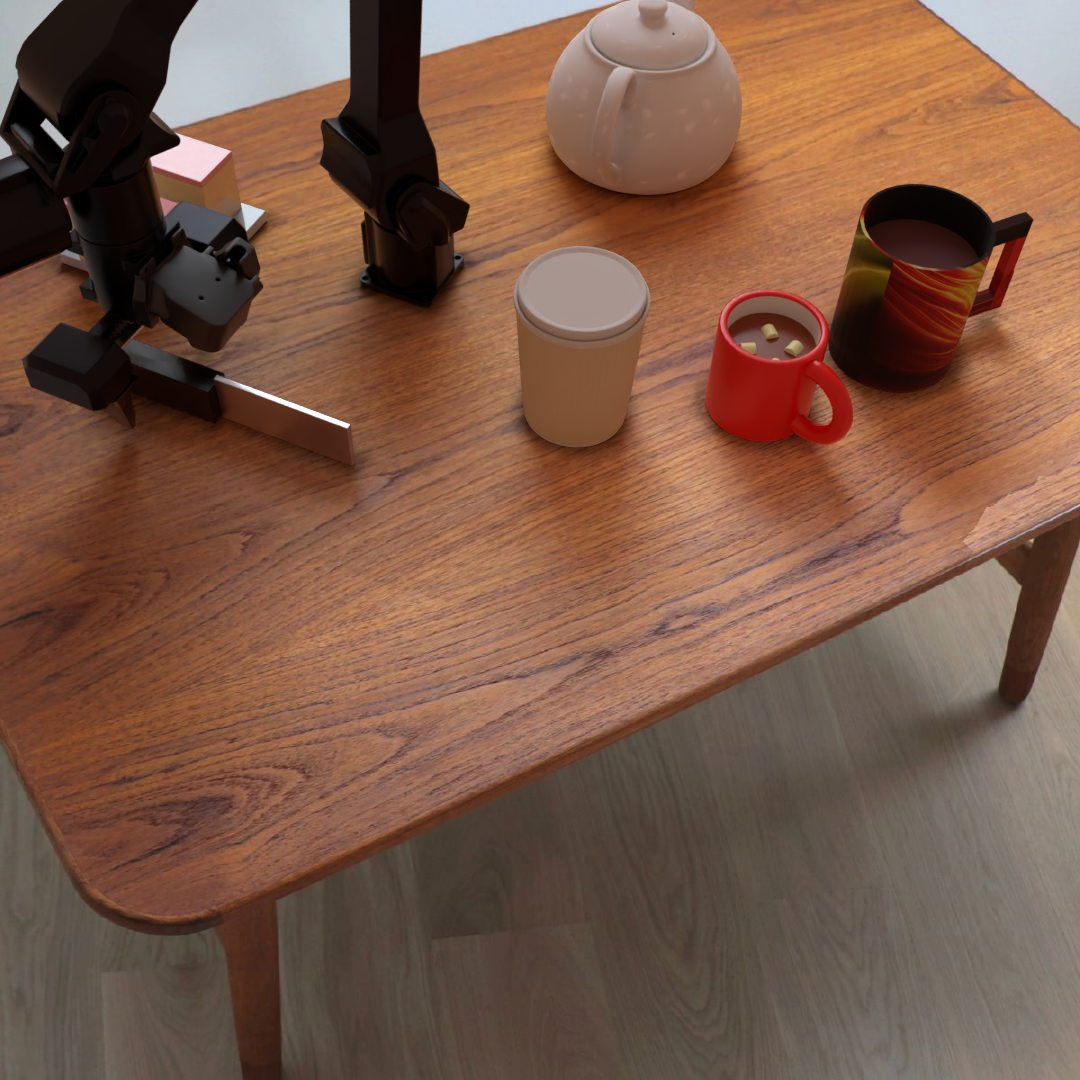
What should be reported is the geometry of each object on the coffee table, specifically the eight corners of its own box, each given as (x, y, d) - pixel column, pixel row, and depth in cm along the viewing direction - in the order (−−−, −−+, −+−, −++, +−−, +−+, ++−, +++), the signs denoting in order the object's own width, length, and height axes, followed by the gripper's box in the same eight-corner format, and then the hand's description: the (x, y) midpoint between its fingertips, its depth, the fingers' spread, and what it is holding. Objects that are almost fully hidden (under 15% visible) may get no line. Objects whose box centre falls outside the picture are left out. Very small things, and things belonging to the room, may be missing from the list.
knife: (361, 454, 99) (357, 416, 95) (346, 474, 97) (341, 437, 94) (119, 362, 104) (107, 324, 100) (102, 381, 102) (89, 343, 99)
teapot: (501, 112, 124) (502, -29, 113) (679, 67, 129) (695, -72, 119) (592, 235, 114) (601, 93, 103) (780, 180, 119) (808, 40, 108)
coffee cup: (652, 383, 104) (667, 260, 94) (616, 470, 98) (628, 350, 89) (536, 353, 105) (540, 229, 96) (494, 437, 100) (494, 315, 90)
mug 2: (998, 315, 109) (1046, 193, 100) (913, 411, 102) (956, 290, 93) (893, 263, 113) (929, 140, 103) (804, 353, 106) (834, 230, 97)
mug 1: (806, 490, 97) (827, 415, 91) (683, 400, 103) (695, 322, 96) (874, 435, 101) (899, 359, 95) (752, 350, 106) (768, 273, 100)
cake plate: (267, 220, 114) (256, 154, 109) (186, 307, 107) (170, 242, 102) (147, 179, 117) (131, 113, 112) (61, 262, 110) (39, 196, 105)
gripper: (138, 346, 81) (185, 510, 94) (300, 172, 92) (323, 340, 104) (-13, 290, 84) (52, 457, 96) (161, 127, 95) (200, 296, 107)
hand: (164, 385), depth 101 cm, fingers open, 9 cm apart
